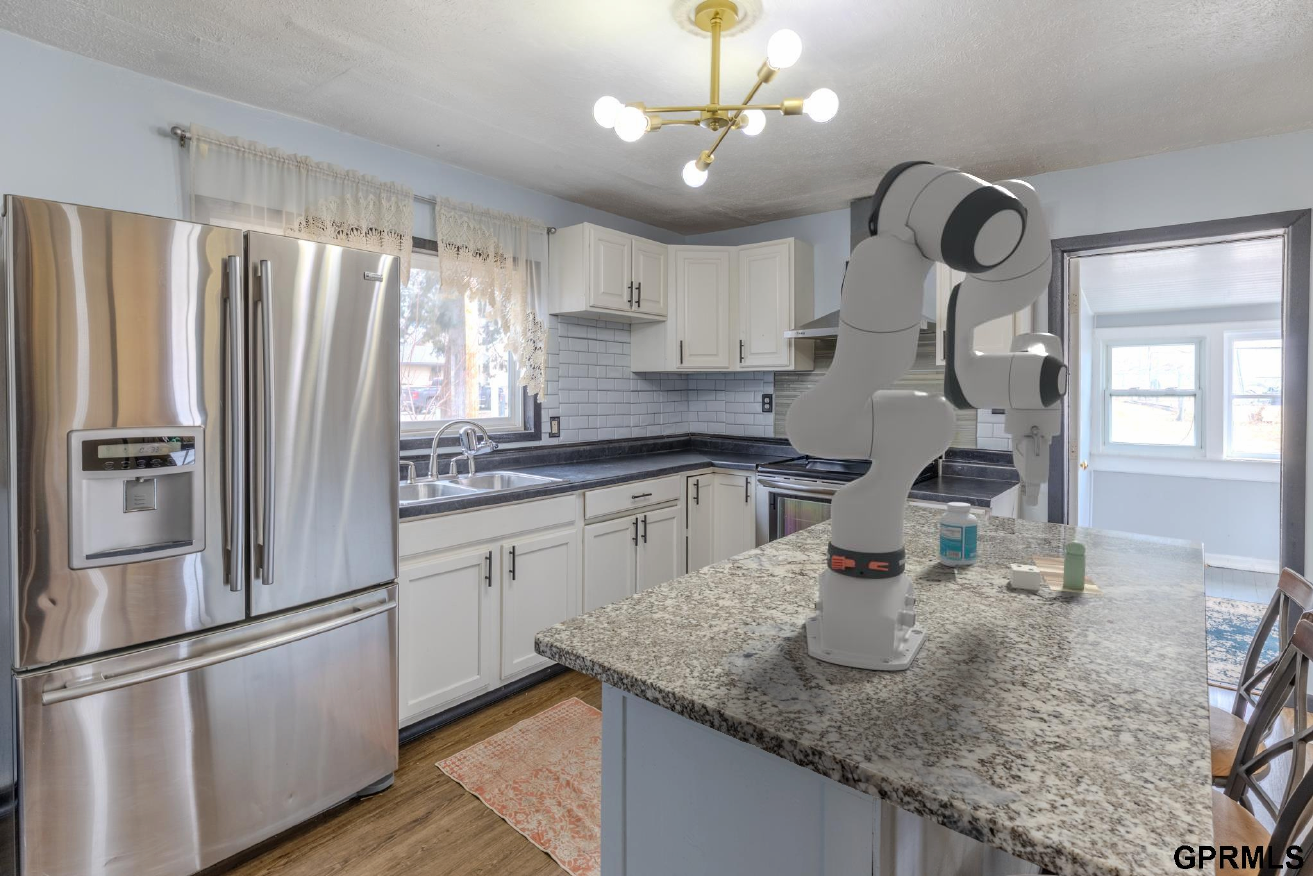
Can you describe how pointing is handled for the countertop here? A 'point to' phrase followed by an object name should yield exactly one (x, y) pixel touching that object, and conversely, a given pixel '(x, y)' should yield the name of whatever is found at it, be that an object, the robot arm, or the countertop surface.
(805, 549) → the countertop surface
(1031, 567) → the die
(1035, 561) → the board
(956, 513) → the pill bottle
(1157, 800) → the countertop surface
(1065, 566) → the green bottle
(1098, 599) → the countertop surface
